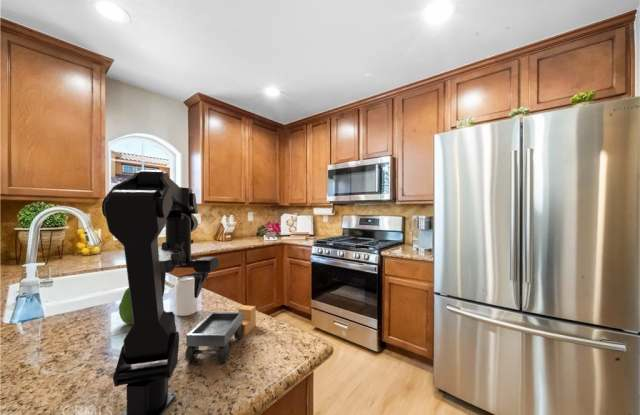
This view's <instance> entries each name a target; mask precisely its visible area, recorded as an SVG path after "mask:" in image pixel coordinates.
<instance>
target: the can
mask: <svg viewBox="0 0 640 415" xmlns="http://www.w3.org/2000/svg"><path fill="white" fill-rule="evenodd" d="M194 285H195V278H194V276H193V275H185V276H179V277H178V278H177V281H176V283H175V315H177V317H188V316H189V317H190V316H192V315H194V314H195V313H196V312H198V297H197V298H195V296H194Z"/></svg>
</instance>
